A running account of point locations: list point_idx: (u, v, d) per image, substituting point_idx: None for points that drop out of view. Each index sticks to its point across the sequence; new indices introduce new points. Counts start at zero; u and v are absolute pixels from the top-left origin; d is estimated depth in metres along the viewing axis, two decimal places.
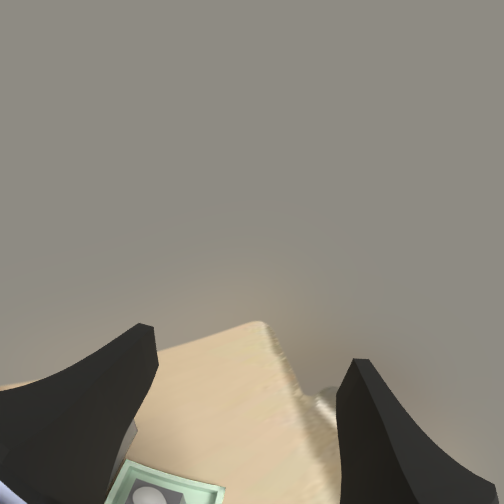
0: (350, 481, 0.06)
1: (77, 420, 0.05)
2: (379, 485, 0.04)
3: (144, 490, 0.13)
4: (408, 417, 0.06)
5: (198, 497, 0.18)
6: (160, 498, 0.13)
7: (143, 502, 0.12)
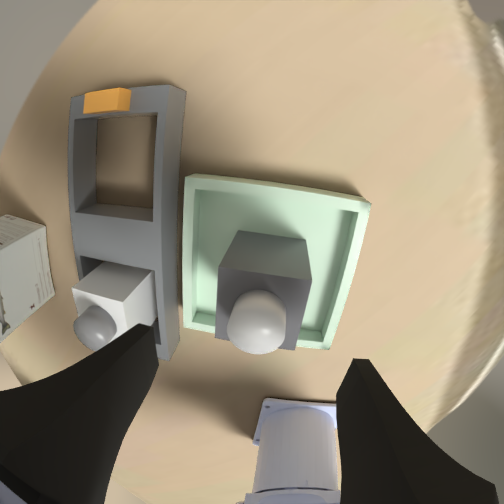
0: (350, 481, 0.06)
1: (77, 420, 0.05)
2: (379, 485, 0.04)
3: (244, 318, 0.11)
4: (408, 417, 0.06)
5: (322, 216, 0.15)
6: (276, 328, 0.11)
7: (248, 339, 0.11)
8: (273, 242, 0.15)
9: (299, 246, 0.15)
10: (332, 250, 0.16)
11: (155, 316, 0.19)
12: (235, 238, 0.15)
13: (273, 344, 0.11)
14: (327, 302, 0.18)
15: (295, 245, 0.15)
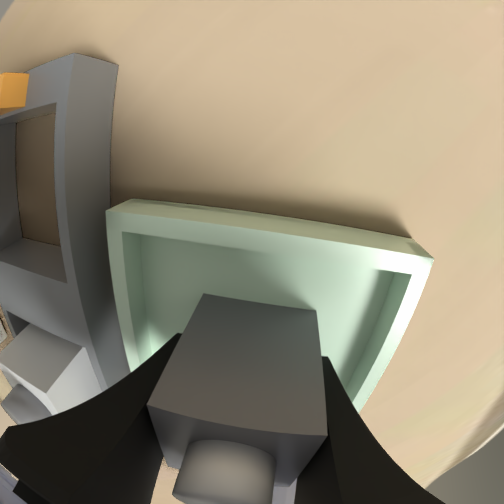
0: (302, 482, 0.06)
1: (131, 444, 0.05)
2: (320, 489, 0.04)
3: (197, 495, 0.04)
4: (358, 419, 0.06)
5: (347, 274, 0.09)
6: None
7: None
8: (261, 324, 0.08)
9: (305, 330, 0.08)
10: (357, 324, 0.09)
11: None
12: (194, 317, 0.08)
13: None
14: None
15: (298, 328, 0.08)
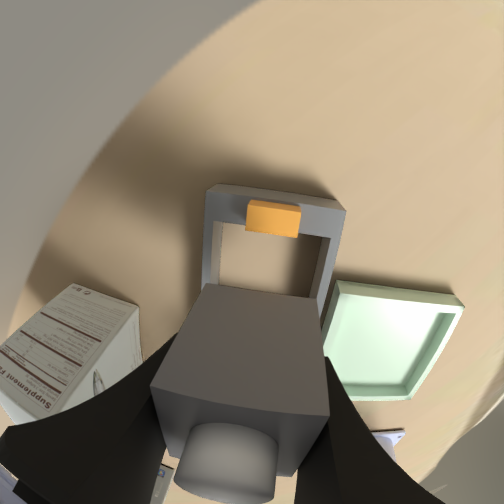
0: (302, 482, 0.06)
1: (130, 444, 0.05)
2: (320, 489, 0.04)
3: (199, 479, 0.04)
4: (358, 419, 0.06)
5: (428, 312, 0.17)
6: (258, 493, 0.04)
7: (212, 493, 0.05)
8: (262, 311, 0.09)
9: (306, 317, 0.09)
10: (428, 334, 0.18)
11: None
12: (197, 304, 0.09)
13: (254, 501, 0.05)
14: (414, 367, 0.19)
15: (299, 315, 0.09)
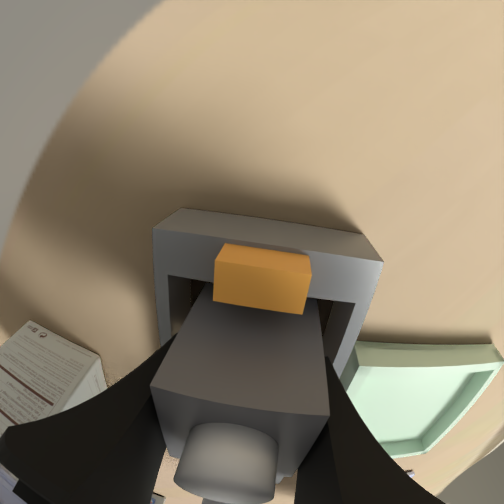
0: (302, 482, 0.06)
1: (130, 444, 0.05)
2: (320, 489, 0.04)
3: (199, 479, 0.04)
4: (358, 419, 0.06)
5: None
6: (258, 493, 0.04)
7: (212, 493, 0.05)
8: (262, 311, 0.09)
9: (306, 317, 0.09)
10: (456, 390, 0.12)
11: None
12: (197, 304, 0.09)
13: (254, 501, 0.05)
14: (435, 421, 0.13)
15: (299, 315, 0.09)
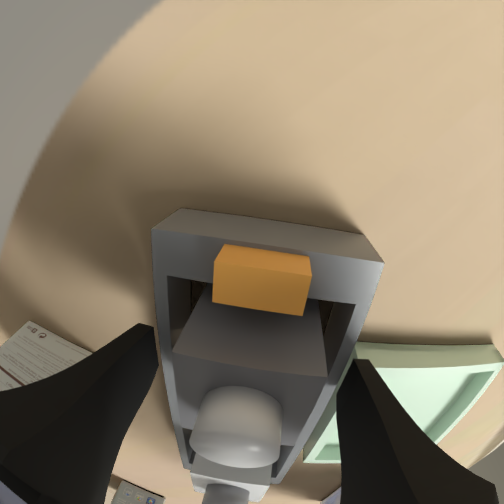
0: (350, 481, 0.06)
1: (77, 420, 0.05)
2: (379, 485, 0.04)
3: (214, 437, 0.06)
4: (408, 417, 0.06)
5: None
6: (266, 450, 0.06)
7: (223, 455, 0.06)
8: None
9: None
10: (457, 390, 0.12)
11: None
12: (209, 285, 0.10)
13: (261, 462, 0.06)
14: (435, 422, 0.13)
15: None
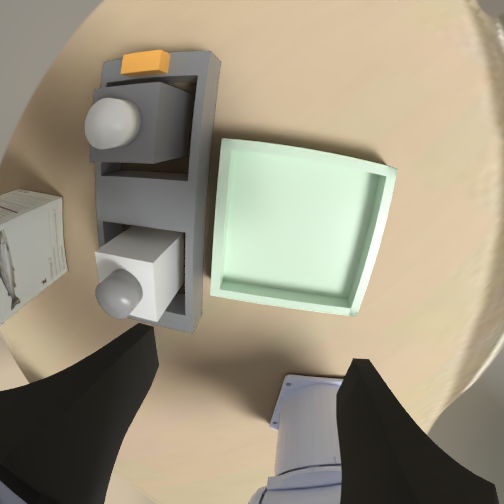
0: (350, 481, 0.06)
1: (77, 420, 0.05)
2: (379, 485, 0.04)
3: (96, 109, 0.10)
4: (408, 417, 0.06)
5: (351, 181, 0.16)
6: (118, 112, 0.10)
7: (98, 132, 0.10)
8: None
9: None
10: (360, 214, 0.16)
11: (179, 286, 0.19)
12: None
13: (116, 132, 0.10)
14: (354, 267, 0.18)
15: None
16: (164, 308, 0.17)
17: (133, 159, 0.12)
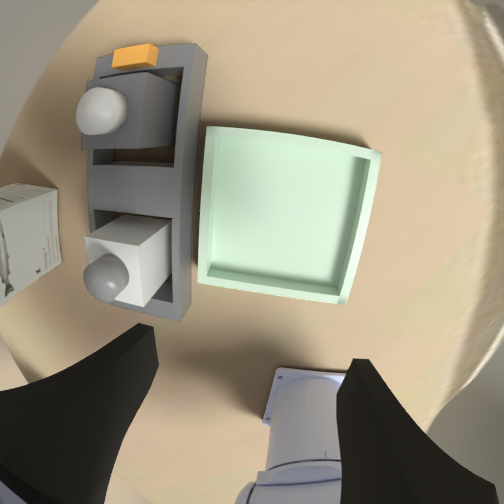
0: (350, 481, 0.06)
1: (77, 420, 0.05)
2: (379, 485, 0.04)
3: (86, 98, 0.10)
4: (408, 417, 0.06)
5: (336, 166, 0.16)
6: (106, 100, 0.10)
7: (88, 119, 0.10)
8: None
9: None
10: (346, 200, 0.16)
11: (168, 275, 0.20)
12: None
13: (104, 118, 0.10)
14: (342, 254, 0.18)
15: None
16: (151, 294, 0.17)
17: (121, 145, 0.12)
